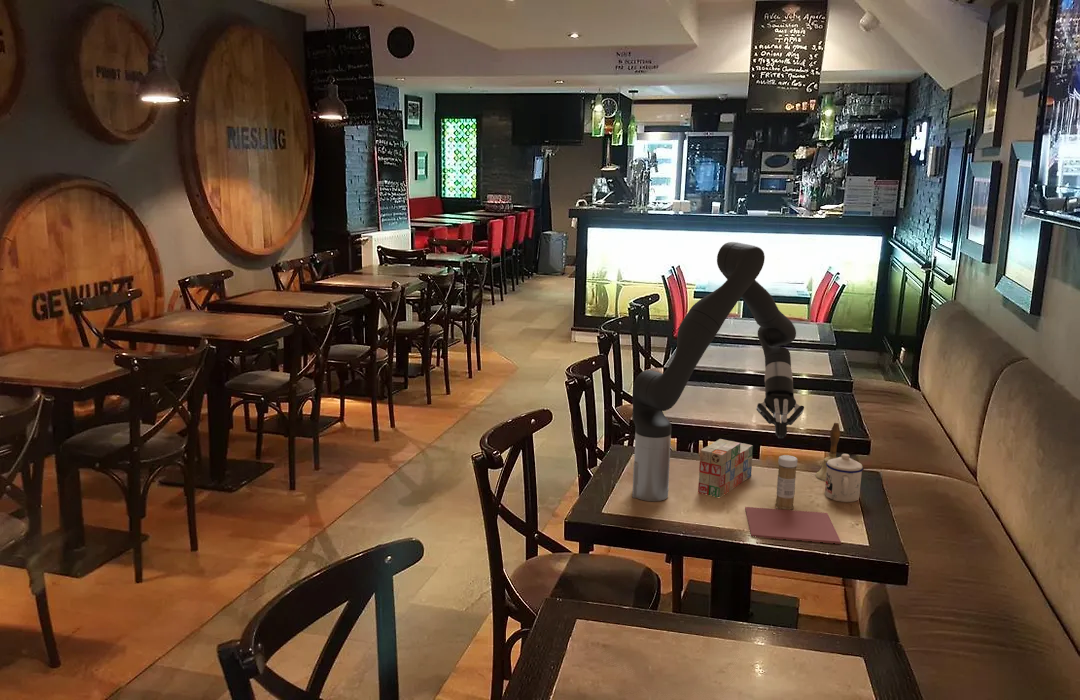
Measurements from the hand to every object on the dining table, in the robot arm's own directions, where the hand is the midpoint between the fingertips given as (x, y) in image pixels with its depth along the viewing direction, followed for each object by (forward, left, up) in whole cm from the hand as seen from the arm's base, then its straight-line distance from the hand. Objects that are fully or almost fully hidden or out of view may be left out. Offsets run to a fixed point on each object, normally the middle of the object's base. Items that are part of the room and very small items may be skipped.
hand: (781, 436), depth 215 cm
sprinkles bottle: (0, -13, -15) cm, 20 cm away
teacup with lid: (+16, -3, -15) cm, 22 cm away
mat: (0, -24, -15) cm, 29 cm away
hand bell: (+16, +13, -15) cm, 25 cm away
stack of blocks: (-14, +1, -15) cm, 20 cm away
